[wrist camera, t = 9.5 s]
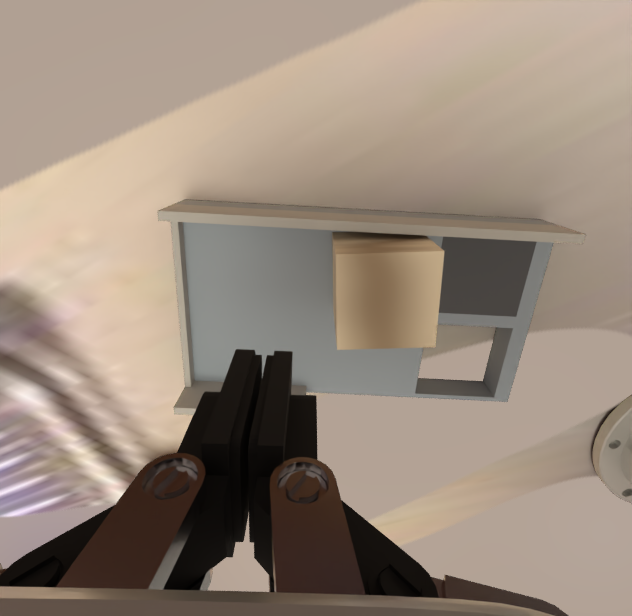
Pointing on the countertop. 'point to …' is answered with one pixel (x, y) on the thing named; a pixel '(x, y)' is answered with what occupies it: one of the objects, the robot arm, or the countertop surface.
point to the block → (385, 290)
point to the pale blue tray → (317, 294)
